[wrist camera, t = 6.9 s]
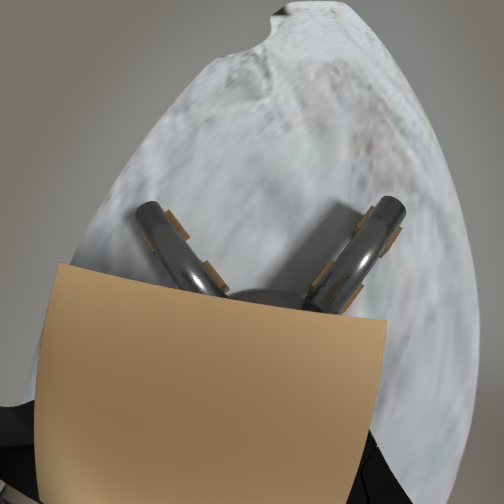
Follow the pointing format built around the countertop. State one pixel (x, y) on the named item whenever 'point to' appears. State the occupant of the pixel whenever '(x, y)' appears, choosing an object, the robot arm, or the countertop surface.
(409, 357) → the countertop surface
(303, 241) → the countertop surface
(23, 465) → the robot arm
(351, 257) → the shaft
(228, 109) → the countertop surface
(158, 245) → the shaft
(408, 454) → the countertop surface
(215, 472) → the block
